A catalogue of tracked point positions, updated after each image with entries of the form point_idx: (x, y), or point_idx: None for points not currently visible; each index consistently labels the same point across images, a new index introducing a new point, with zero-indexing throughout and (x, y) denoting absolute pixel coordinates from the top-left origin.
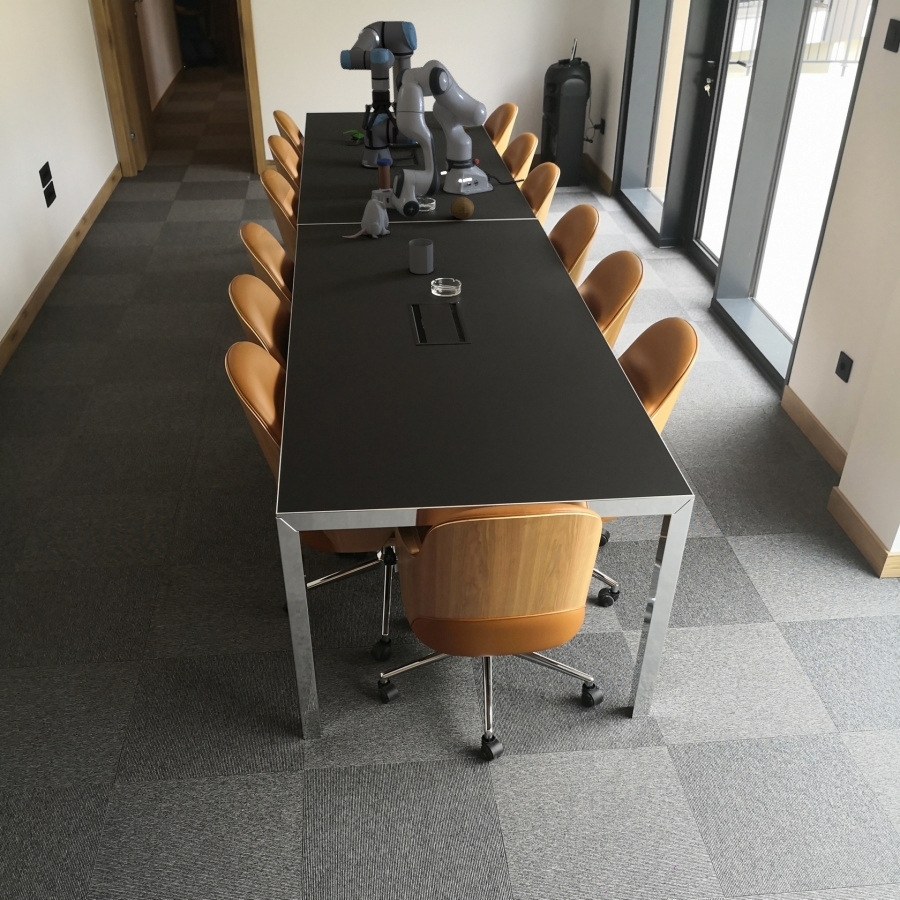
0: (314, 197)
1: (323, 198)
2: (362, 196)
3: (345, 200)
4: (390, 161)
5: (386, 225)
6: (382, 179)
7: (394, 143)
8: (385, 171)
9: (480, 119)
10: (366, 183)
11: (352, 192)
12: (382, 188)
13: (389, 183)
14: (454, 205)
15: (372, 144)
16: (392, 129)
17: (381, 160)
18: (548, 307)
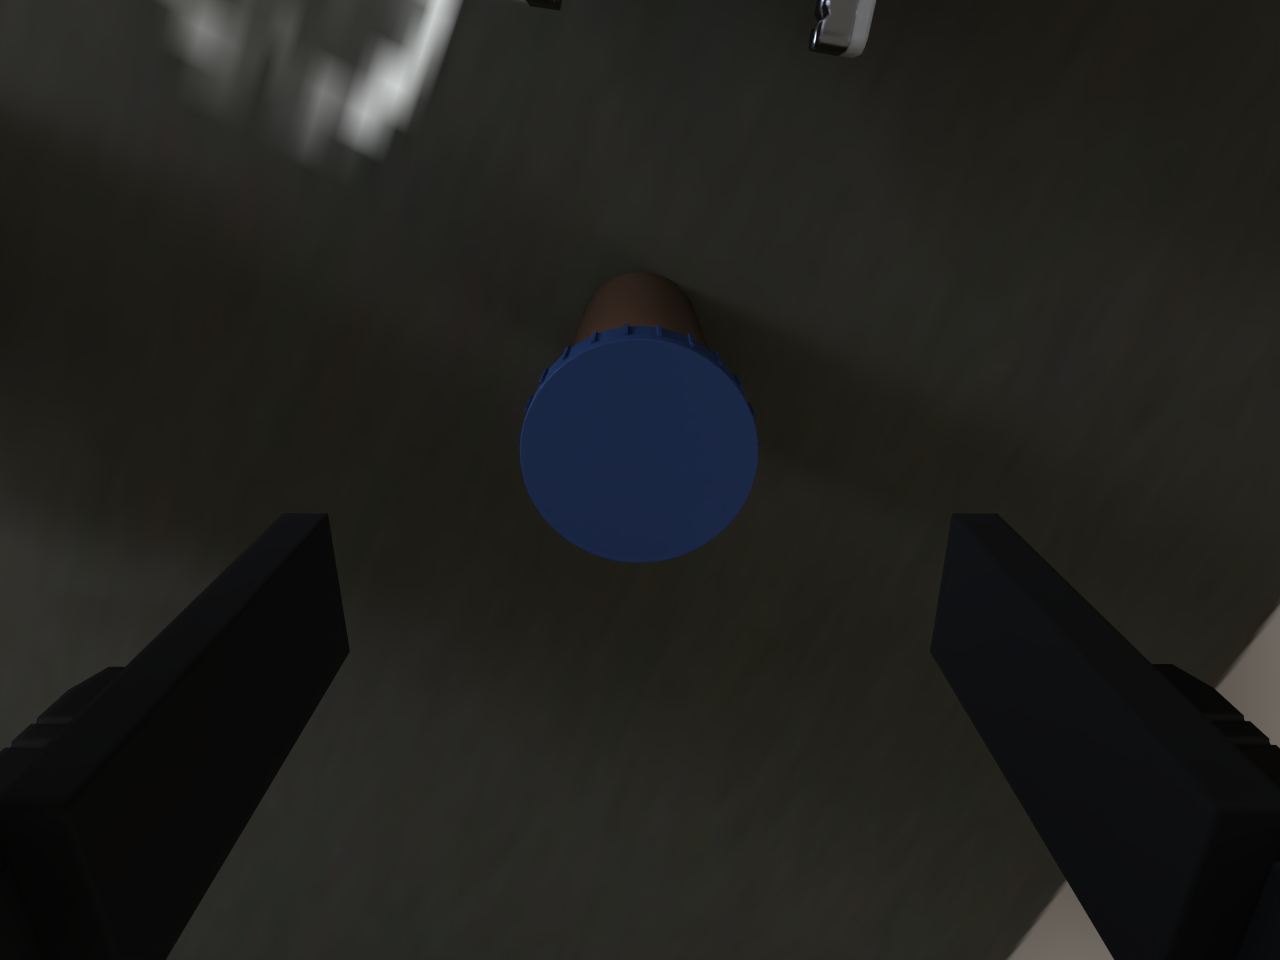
0: (1205, 600)
1: (1160, 542)
2: (828, 444)
3: (1031, 398)
4: (536, 391)
5: None
6: (691, 323)
7: (333, 563)
8: (653, 323)
9: None
10: (624, 761)
11: (848, 591)
12: (827, 16)
13: (598, 306)
14: None
15: (989, 540)
16: (179, 921)
17: (680, 456)
18: None
